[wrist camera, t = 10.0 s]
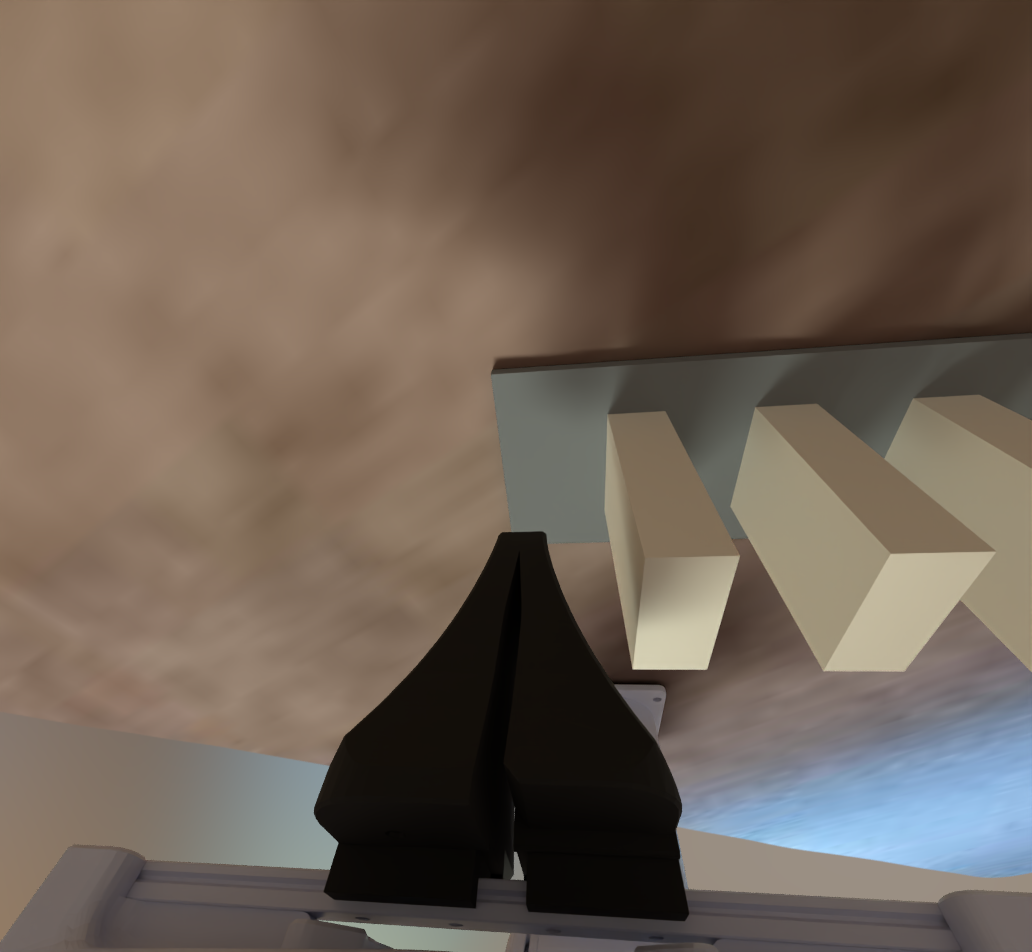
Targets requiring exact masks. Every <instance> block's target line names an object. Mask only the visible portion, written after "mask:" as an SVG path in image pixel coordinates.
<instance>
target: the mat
mask: <svg viewBox="0 0 1032 952" xmlns="http://www.w3.org/2000/svg"><path fill="white" fill-rule="evenodd" d="M491 379H492V387H493V394H494V402H495V409H496V417H497V425H498V432H499V440H500V447H501V455H502V463H503V470H504V478H505V485H506V493H507V501H508V508H509V516H510V524H511V531H512V532H532V531H543V532H544V533H546V534H547V544H552V543H590V542H610V538H609V533H608V527H607V521H606V516H605V510H604V508H605V477H606V445H607V414H623V413H640V412H657V411H666V413H667V415H668V417H669V419H670V421H671V423H672V425H673V427H674V429H675V431H676V433H677V435H678V437H679V439H680V441H681V442H682V444H683V446H684V448H685V450H686V452H687V454H688V456H689V458H690V460H691V462H692V464H693V466H694V468H695V470H696V471H697V473H698V475H699V477H700V479H701V481H702V483H703V485H704V487H705V489H706V491H707V493H708V495H709V497H710V499H711V500H712V502H713V504H714V506H715V508H716V510H717V512H718V514H719V516H720V518H721V520H722V522H723V524H724V526H725V528H726V530H727V531H728V533H729V535H730V537H731V539H745V538H748V537H747V535H746V533H745V531H744V530H743V528H742V526H741V524H740V523H739V521H738V519H737V517H736V516H735V514H734V512H733V510H732V508H731V507H730V506H731V502H732V498H733V494H734V490H735V486H736V482H737V478H738V474H739V470H740V466H741V462H742V458H743V454H744V450H745V446H746V442H747V438H748V434H749V430H750V426H751V422H752V418H753V414H754V410H755V407H766V406H784V405H802V404H818V405H819V406H821V407H822V408H823V409H824V410H825V411H827V412H828V413H829V414H830V415H831V416H833V417H834V418H835V419H836V420H838V421H839V422H840V423H841V424H842V425H844V426H845V427H846V428H847V429H848V430H850V431H851V432H852V433H853V434H855V435H856V436H857V437H858V438H859V439H861V440H862V441H863V442H864V443H865V444H867V445H868V446H869V447H870V448H872V449H873V450H874V451H875V452H876V453H878V454H879V455H880V456H881V457H882V458H885V456H886V454H887V452H888V450H889V448H890V446H891V444H892V441H893V439H894V437H895V435H896V433H897V431H898V429H899V427H900V425H901V423H902V421H903V418H904V416H905V414H906V412H907V410H908V408H909V406H910V404H911V402H912V400H913V398H928V397H946V396H964V395H981V396H983V397H985V398H987V399H989V400H991V401H993V402H995V403H997V404H999V405H1001V406H1003V407H1005V408H1007V409H1010V410H1012V411H1014V412H1016V413H1018V414H1020V415H1022V416H1024V417H1026V418H1028V419H1030V420H1032V333H1024V334H1009V335H994V336H980V337H965V338H950V339H936V340H921V341H906V342H892V343H877V344H862V345H848V346H833V347H818V348H804V349H789V350H774V351H760V352H745V353H730V354H716V355H701V356H686V357H672V358H657V359H642V360H627V361H613V362H598V363H583V364H569V365H554V366H539V367H525V368H510V369H495V370H492V372H491Z"/></svg>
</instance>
